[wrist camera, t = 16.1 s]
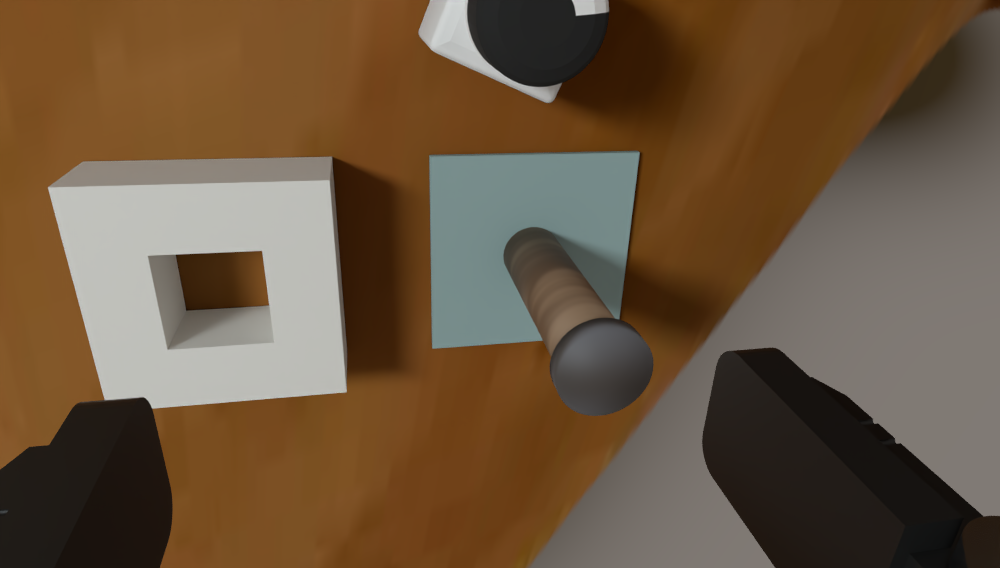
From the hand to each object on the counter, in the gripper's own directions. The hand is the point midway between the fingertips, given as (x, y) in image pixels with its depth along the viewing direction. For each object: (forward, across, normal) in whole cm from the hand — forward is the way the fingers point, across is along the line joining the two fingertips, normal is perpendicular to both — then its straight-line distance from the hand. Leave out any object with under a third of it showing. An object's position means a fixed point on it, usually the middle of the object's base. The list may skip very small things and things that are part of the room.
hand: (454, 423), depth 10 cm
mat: (+34, -10, +12) cm, 38 cm away
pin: (+34, -10, +12) cm, 37 cm away
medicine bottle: (+34, -7, -4) cm, 35 cm away
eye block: (+34, +10, +12) cm, 38 cm away
